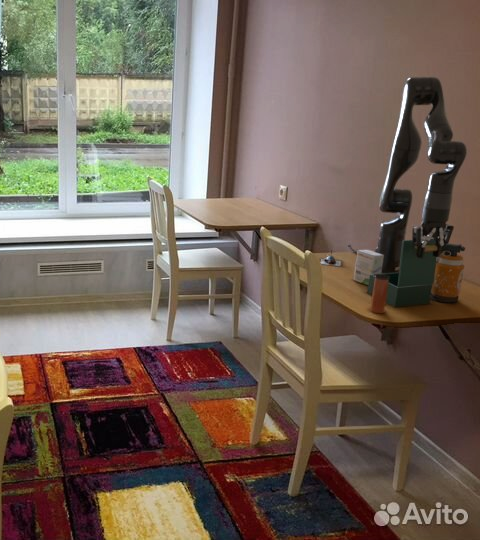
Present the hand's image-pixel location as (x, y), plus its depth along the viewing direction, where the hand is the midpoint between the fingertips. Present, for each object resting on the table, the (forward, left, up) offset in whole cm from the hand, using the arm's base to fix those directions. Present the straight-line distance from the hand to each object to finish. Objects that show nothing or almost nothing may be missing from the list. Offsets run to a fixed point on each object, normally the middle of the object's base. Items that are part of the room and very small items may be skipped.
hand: (427, 256), depth 195 cm
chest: (-11, 0, -18) cm, 21 cm away
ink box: (-28, 0, -18) cm, 33 cm away
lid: (-4, 0, -3) cm, 5 cm away
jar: (-2, -15, -18) cm, 23 cm away
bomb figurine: (-54, +2, -18) cm, 57 cm away
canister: (-7, +14, -18) cm, 24 cm away
